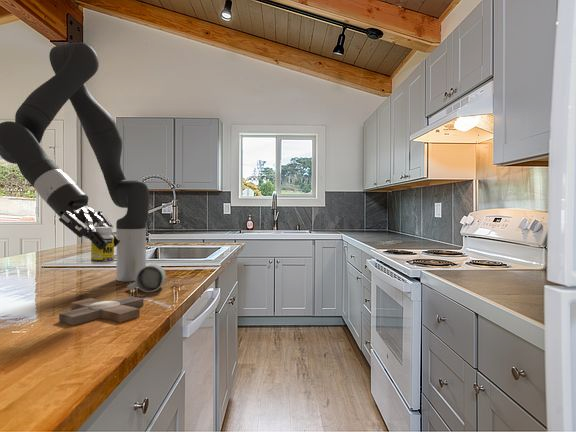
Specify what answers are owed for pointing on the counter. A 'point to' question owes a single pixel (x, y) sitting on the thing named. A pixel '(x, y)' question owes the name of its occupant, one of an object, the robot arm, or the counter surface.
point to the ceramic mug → (149, 278)
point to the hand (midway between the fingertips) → (110, 245)
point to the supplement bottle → (108, 252)
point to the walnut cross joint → (102, 310)
